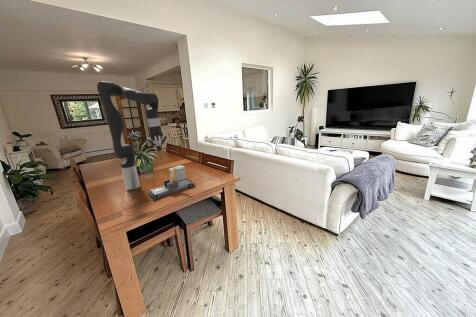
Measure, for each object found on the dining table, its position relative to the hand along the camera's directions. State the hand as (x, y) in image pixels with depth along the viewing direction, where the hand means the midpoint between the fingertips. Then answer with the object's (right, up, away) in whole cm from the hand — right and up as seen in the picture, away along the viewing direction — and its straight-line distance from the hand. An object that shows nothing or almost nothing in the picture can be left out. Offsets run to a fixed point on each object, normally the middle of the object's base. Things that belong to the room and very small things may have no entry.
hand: (159, 151), depth 129 cm
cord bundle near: (-4, -31, 0) cm, 31 cm away
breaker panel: (+6, -28, +8) cm, 29 cm away
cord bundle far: (+16, -25, +15) cm, 33 cm away
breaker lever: (+6, -24, +7) cm, 25 cm away
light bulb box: (+5, -23, +26) cm, 35 cm away
